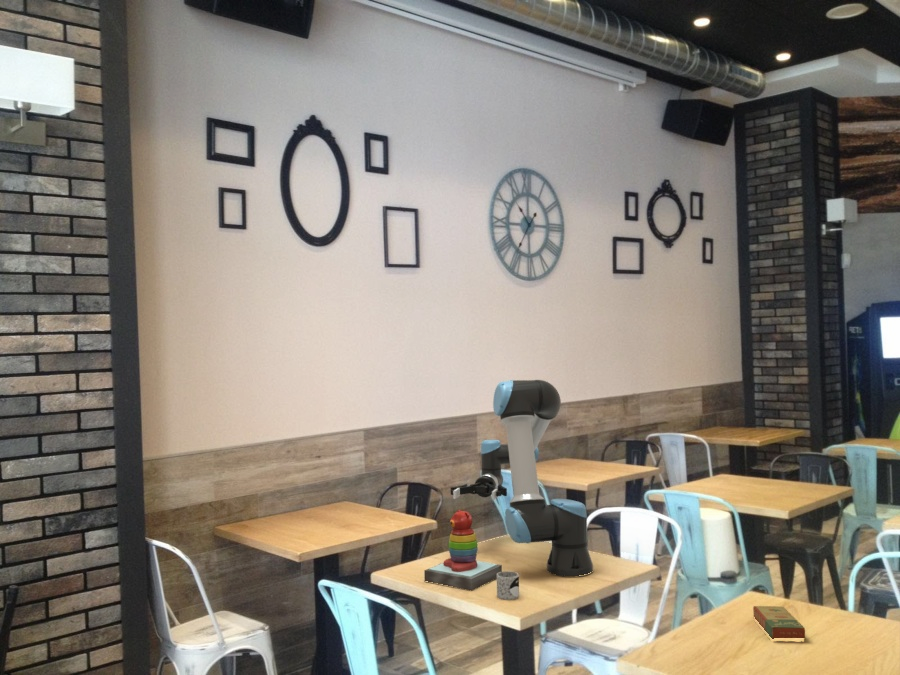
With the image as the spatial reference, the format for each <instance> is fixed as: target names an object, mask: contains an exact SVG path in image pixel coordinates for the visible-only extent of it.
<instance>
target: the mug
mask: <svg viewBox="0 0 900 675" xmlns="http://www.w3.org/2000/svg"><path fill="white" fill-rule="evenodd" d="M496 597H497V599H499V600H504V601H513V600H516V599H519V598H520V573H518V572H516V571H511V570H504V571H503V570H502V572H499V573H497V579H496Z"/></svg>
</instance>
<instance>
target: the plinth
mask: <svg viewBox="0 0 900 675" xmlns="http://www.w3.org/2000/svg"><path fill="white" fill-rule="evenodd" d="M476 562H477V567H476V568H474V569H471V570H468V571H462V572H454V571H452V568H451V567H447V566H444V565H443V563H444V562H442V563H439V564H437V565H434V566H432V567H429V568H427V569H424V571H423V572H424V573H423V574H424V576H423V577H424V582H425V581H428V582H427V583H429V582H433V583H432V584H434V583H438V584H437V585H439V584H443V585H442V586H444V585H448V586H447V587H449V586H453V587H452V588H454V587H457V588H456V589H460V588H461V589H460V590H465V589H466V590H465V591H470V590H471V592H472V591H474V590H476V589H479V588H481V587H482V585H483V586H485V585H487V584H489V583H491V582H493V581H496V580H497V573H499V572H503V567H502V564H498V563H493V562H487V561H482V560H481V561H480V560H476ZM488 582H489V583H488ZM484 584H485V585H484ZM480 586H481V587H480ZM478 587H479V588H478Z"/></svg>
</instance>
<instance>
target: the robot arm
mask: <svg viewBox="0 0 900 675" xmlns="http://www.w3.org/2000/svg"><path fill="white" fill-rule="evenodd" d="M492 403H493V404H492V408H493V413H494V414H495V416H498V417H500V422H501V424H503V425H504V426H505V430H506V440H507V443H505V444H502V443H501V441H500V440H499V439H485V440H482V442H481V444H480V462H481V469H480V470H481V474H480V475H481V476H480V477H479V478H477V479H476V481H475V483H471V484H470V485H469V483H464V484H462V485H457V486H451V487H450V495H451V496H453V499H454V500H456V499H458V498H459V497H460V496H462V495H468V494H470V495H478V496H479V497H481V498H489V497H491V500H493V501H494V500H496V499H497V498H498V497H502V496H504V497H507V496H508V489H507V487H505V486H503V482H504V476H503V474H502V465H509V467H510V476H511V486H512V494H513V496H512V498H511V500H510V501H509V507H507V508H506V509H505V513H504V520H505V525H506V530H507V533H508V534H509V536H510V538H511V540H512V541H513V542H515V543H517V544H531V543H543V542H551V549H550V553H549V555H548V559H547V563H546V571H547V572H548V573H549V574H551V575H554V576H559V577H564V576H579V575H584V574H588V573H590V572H592V571H593V572H594V565H593V560H592V558H591V555H590V551H589V549H588V522H587V521H588V515H587V514H588V513H587V507H586V505H585V504H584V503H582V502H580V501H578V500H577V501H576V500H572V499H567V498H566V499H565V498H552V499H551V500H550V504H546V501H545V498H544V497H543V496H542V495H541V494H540V491H539V490H540V489H539V488H540V487H539V479H538V472H537V471H538V470H537V461H538V460H539V455H540V451H539V447H538V446H539V444H540V442H541V440H542V438H543V436H544V434H545V432H546V430H547V428H548V427H549V424H550V423H551V421H552V420H554V419H555V418H556V417H557V416H558V414H559V412H560V410H561V406H562V405H561V404H562V400H561V396H560V394H559V391H558V389H556V387H555V386H554V385H553V384H552V383H550V382H548V381H546V380H543V379H530V380H529V379H528V380H527V379H526V380H525V379H523V380H522V379H521V380H520V379H519V380H518V379H517V380H513V379H512V380H505V381H504V380H503V381H500V382H498V384H497V385H496V387H495V390H494V392H493V401H492ZM593 572H592V573H593ZM579 577H580V576H579Z"/></svg>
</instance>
